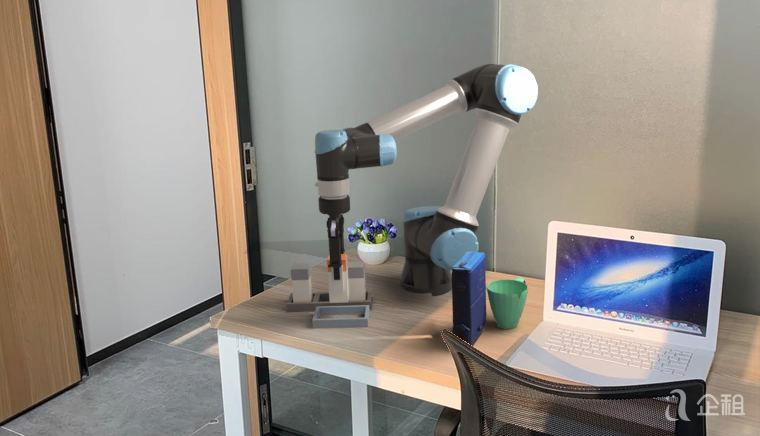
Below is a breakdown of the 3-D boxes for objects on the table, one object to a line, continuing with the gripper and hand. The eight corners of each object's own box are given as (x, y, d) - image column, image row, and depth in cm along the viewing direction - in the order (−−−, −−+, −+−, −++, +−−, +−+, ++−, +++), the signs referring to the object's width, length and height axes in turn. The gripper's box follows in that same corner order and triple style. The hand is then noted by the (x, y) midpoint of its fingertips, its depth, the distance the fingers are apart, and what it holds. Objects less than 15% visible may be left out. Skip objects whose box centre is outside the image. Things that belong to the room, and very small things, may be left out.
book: (472, 353, 154) (471, 269, 148) (449, 349, 156) (447, 267, 151) (488, 327, 166) (488, 249, 161) (467, 324, 169) (466, 247, 163)
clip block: (373, 300, 186) (373, 289, 185) (372, 313, 178) (371, 302, 177) (291, 302, 187) (290, 292, 186) (285, 315, 179) (284, 305, 178)
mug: (518, 336, 161) (519, 296, 158) (480, 328, 166) (480, 290, 163) (539, 313, 173) (540, 276, 170) (503, 307, 178) (503, 270, 175)
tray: (369, 316, 176) (369, 305, 175) (368, 330, 168) (367, 318, 167) (317, 317, 177) (316, 306, 176) (313, 331, 168) (312, 320, 167)
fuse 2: (366, 300, 184) (364, 261, 181) (365, 306, 180) (363, 267, 177) (349, 300, 184) (347, 262, 181) (348, 307, 180) (345, 267, 177)
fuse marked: (349, 295, 172) (347, 253, 169) (347, 302, 168) (345, 259, 165) (331, 295, 172) (329, 254, 170) (329, 302, 168) (327, 260, 165)
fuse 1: (312, 301, 184) (310, 263, 182) (310, 308, 180) (307, 268, 177) (296, 302, 185) (293, 263, 182) (293, 308, 180) (290, 269, 177)
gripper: (322, 187, 172) (327, 275, 178) (313, 205, 155) (319, 301, 161) (352, 186, 172) (356, 274, 178) (346, 204, 155) (351, 300, 161)
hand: (339, 286), depth 169 cm, fingers closed on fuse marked, 4 cm apart
